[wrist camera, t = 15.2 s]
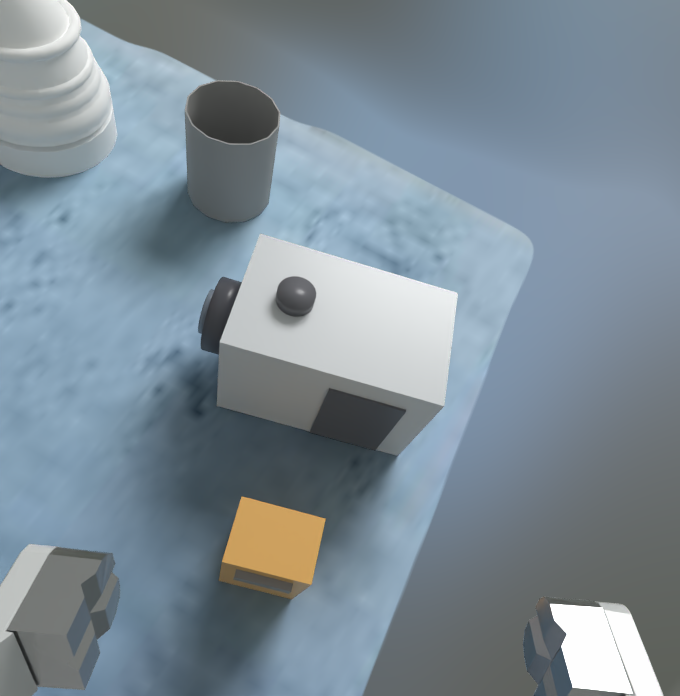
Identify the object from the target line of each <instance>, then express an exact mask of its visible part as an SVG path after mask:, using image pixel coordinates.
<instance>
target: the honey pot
mask: <svg viewBox="0 0 680 696" xmlns="http://www.w3.org/2000/svg"><path fill="white" fill-rule="evenodd" d="M80 32H81V22H80V17H79V15H78V14H77V12H76V10H75V9H74V7H73V6H72V5H71V4H70V3H68V2H67V1H66V0H0V165H2V166H4V167H5V168H7V169H9V170H11V171H14V172H18V173H21V174H24V175H27V176H35V177H43V178H50V177H65V176H69V175H73V174H78V173H82V172H84V171H86V170H88V169H90V168H92V167H94V166H96V165H98V164H99V163H100V162H101V161H103V160H104V159H105V158H106V157H108V155H109V154H110V152H111V151H112V149H113V148H114V146H115V143H116V138H117V130H116V123H115V117H114V111H113V105H112V99H111V93H110V87H109V83H108V81H107V78H106V77H105V75H104V73H103V72H102V70H101V68H100V67H99V66H98V64H97V62H96V60H95V58H94V57H93V55H92V51H91V49H90V48H89V46H88V44H87V42H86V41H85V40H84V39H83V38H82V37H81V36H80Z"/></svg>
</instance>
